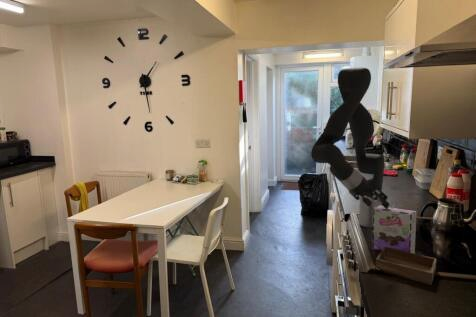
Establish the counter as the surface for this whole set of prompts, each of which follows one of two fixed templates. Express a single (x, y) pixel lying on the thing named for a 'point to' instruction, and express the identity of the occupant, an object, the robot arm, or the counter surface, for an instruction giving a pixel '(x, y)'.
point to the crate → (407, 265)
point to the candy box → (394, 229)
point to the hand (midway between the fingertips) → (378, 205)
